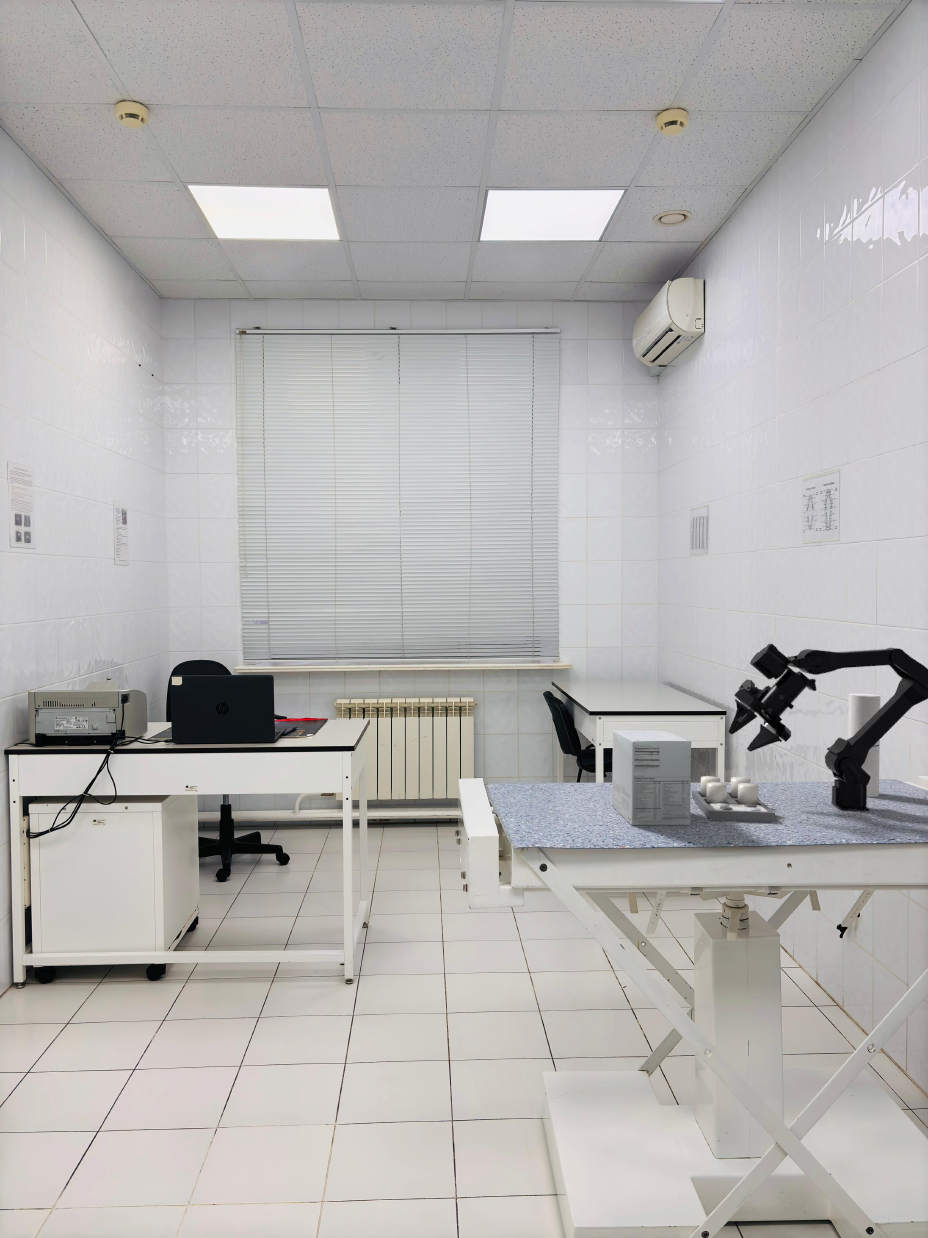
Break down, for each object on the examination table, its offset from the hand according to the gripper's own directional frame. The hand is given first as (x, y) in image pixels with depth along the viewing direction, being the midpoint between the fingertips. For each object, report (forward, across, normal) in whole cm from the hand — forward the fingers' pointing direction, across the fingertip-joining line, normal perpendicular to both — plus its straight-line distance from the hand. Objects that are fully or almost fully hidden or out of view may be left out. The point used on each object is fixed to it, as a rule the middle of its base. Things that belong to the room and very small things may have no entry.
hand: (739, 742), depth 191 cm
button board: (+13, -2, +9) cm, 16 cm away
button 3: (+9, -7, +5) cm, 13 cm away
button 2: (+14, +2, +8) cm, 16 cm away
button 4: (+9, -3, +11) cm, 15 cm away
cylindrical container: (-11, -38, +9) cm, 41 cm away
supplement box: (+26, +14, +7) cm, 31 cm away
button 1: (+14, -3, +2) cm, 14 cm away
